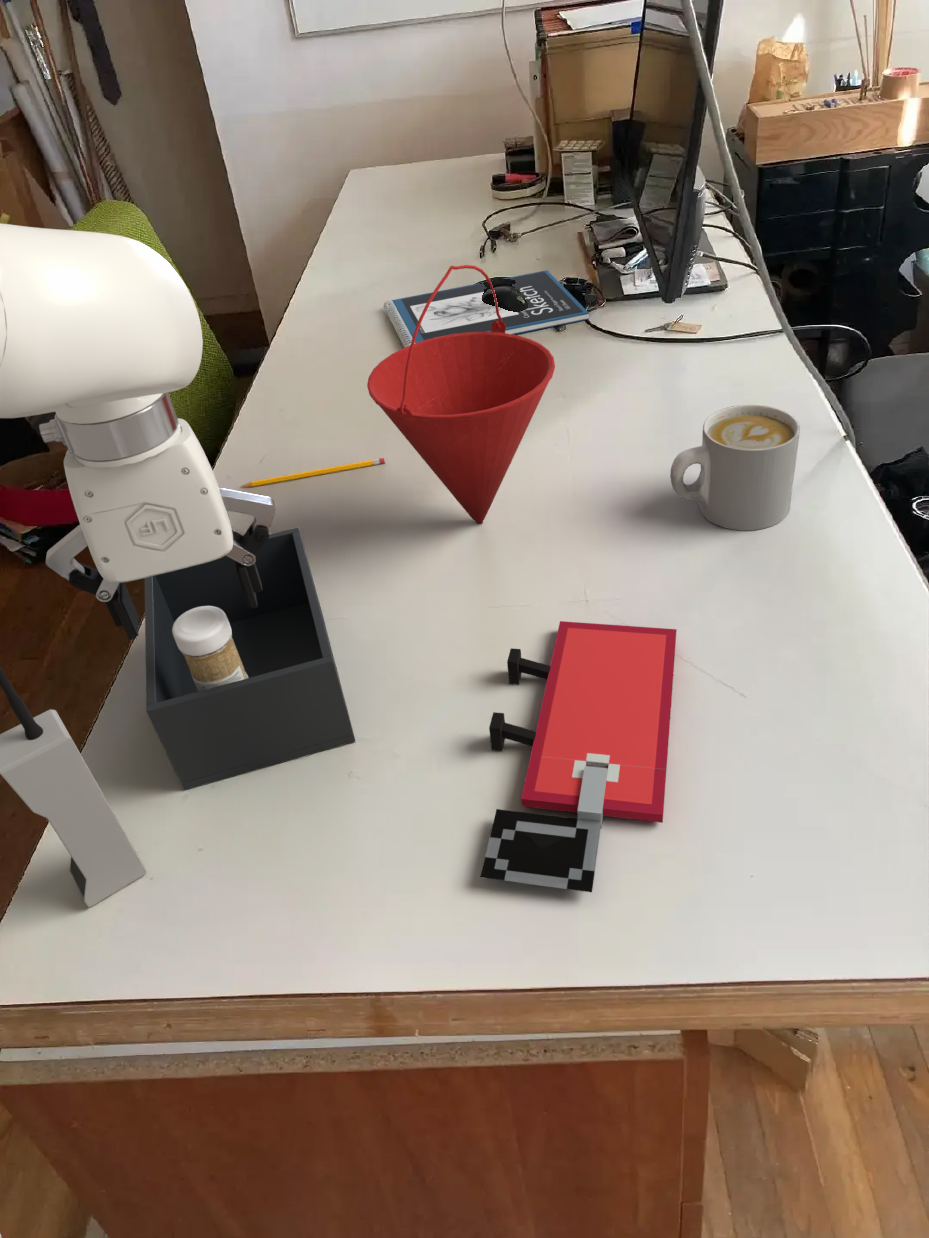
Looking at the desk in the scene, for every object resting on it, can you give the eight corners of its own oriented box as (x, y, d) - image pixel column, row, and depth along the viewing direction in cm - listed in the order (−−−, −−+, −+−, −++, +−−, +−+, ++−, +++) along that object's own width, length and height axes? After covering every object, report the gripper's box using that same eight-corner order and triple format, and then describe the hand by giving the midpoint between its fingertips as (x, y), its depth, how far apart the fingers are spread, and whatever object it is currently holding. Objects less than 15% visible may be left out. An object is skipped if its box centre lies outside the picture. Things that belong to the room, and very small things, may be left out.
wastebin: (355, 741, 84) (333, 661, 78) (183, 790, 82) (146, 711, 75) (319, 602, 100) (298, 526, 94) (175, 640, 98) (143, 565, 92)
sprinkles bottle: (264, 709, 87) (225, 598, 79) (267, 743, 84) (226, 631, 75) (216, 720, 87) (171, 610, 78) (216, 755, 83) (169, 644, 75)
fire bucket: (450, 463, 120) (416, 223, 101) (592, 489, 111) (584, 232, 92) (359, 558, 106) (300, 300, 87) (514, 595, 98) (485, 319, 78)
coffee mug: (781, 479, 108) (790, 401, 102) (797, 528, 101) (808, 447, 94) (664, 485, 110) (666, 409, 104) (672, 534, 103) (674, 455, 96)
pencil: (385, 464, 122) (384, 460, 121) (239, 490, 121) (238, 486, 120) (384, 461, 122) (383, 457, 122) (239, 487, 121) (238, 483, 121)
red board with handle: (457, 881, 71) (656, 908, 68) (453, 859, 69) (657, 885, 66) (523, 629, 93) (675, 640, 90) (521, 607, 92) (677, 618, 88)
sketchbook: (589, 320, 149) (589, 308, 148) (408, 359, 146) (406, 347, 144) (547, 276, 166) (547, 265, 164) (383, 310, 162) (381, 298, 161)
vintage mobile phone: (74, 879, 76) (-73, 654, 60) (132, 846, 78) (4, 619, 62) (89, 910, 73) (-61, 683, 57) (148, 874, 75) (19, 646, 59)
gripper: (-13, 477, 61) (84, 670, 72) (248, 417, 63) (304, 613, 74) (0, 429, 67) (88, 614, 77) (239, 376, 69) (292, 562, 80)
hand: (193, 613), depth 76 cm, fingers open, 9 cm apart
